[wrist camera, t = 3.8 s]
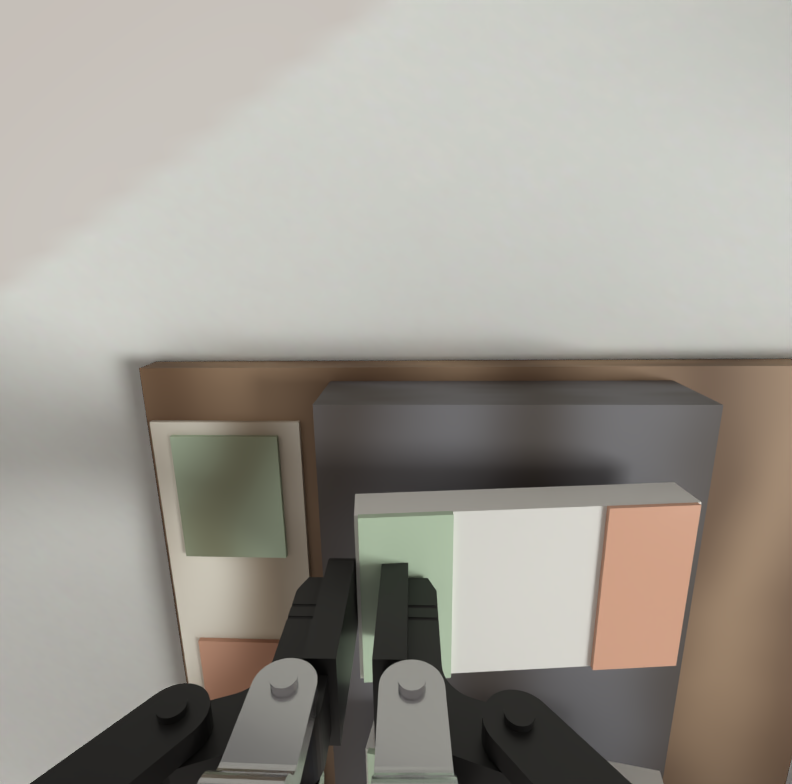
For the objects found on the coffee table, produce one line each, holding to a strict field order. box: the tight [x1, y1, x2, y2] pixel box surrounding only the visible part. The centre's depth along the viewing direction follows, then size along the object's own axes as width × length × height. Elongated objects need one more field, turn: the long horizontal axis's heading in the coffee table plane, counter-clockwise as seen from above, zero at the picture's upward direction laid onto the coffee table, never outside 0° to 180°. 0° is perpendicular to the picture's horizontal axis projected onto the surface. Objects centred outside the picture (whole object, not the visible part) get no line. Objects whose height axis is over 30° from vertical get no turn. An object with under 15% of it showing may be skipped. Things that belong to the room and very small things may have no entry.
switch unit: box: [139, 359, 792, 784], centre depth 20 cm, size 26×28×5 cm
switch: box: [354, 482, 701, 683], centre depth 14 cm, size 9×5×1 cm, turn 91°
